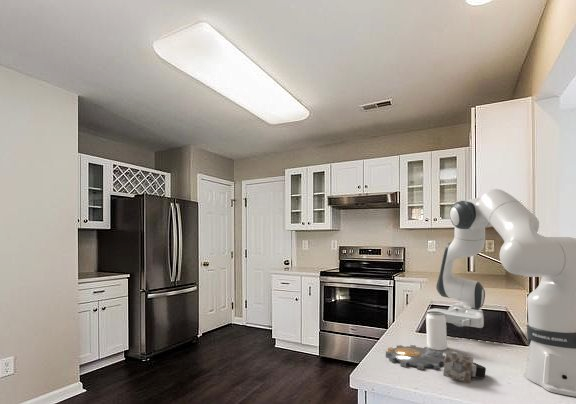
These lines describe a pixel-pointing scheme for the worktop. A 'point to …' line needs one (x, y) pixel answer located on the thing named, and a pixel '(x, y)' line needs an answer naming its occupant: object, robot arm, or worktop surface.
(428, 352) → the sprocket plate
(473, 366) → the caster wheel
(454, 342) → the worktop surface
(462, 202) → the robot arm
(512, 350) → the worktop surface
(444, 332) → the can
